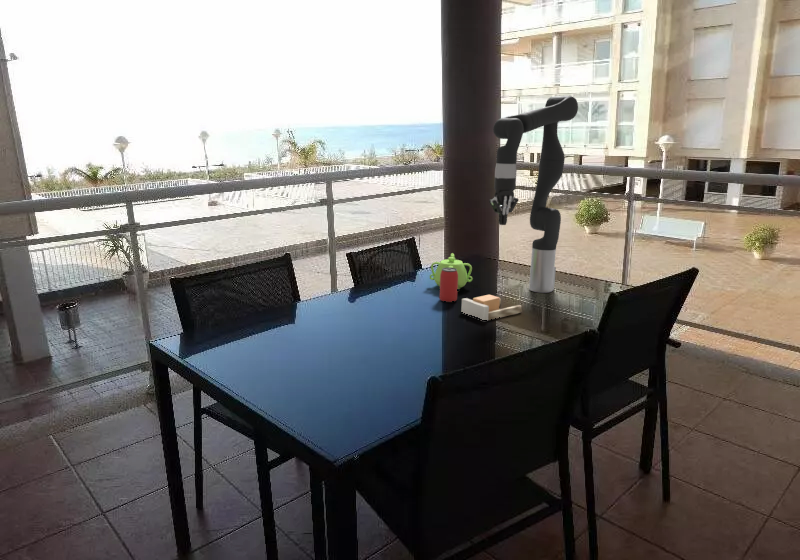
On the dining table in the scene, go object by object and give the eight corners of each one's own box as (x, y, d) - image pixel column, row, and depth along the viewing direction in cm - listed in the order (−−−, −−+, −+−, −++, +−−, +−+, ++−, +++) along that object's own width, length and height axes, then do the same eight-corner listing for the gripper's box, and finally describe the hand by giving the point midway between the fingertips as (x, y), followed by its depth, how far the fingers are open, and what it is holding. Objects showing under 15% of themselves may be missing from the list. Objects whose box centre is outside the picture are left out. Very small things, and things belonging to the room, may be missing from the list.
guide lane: (498, 304, 214) (498, 298, 213) (521, 312, 205) (521, 305, 204) (465, 311, 205) (465, 304, 204) (488, 320, 196) (488, 313, 195)
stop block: (465, 311, 205) (466, 298, 204) (488, 320, 196) (488, 306, 195) (461, 312, 204) (461, 298, 202) (483, 321, 195) (484, 307, 193)
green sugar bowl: (423, 285, 239) (424, 255, 236) (451, 280, 246) (452, 251, 243) (446, 294, 226) (447, 263, 223) (475, 289, 233) (476, 259, 230)
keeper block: (488, 310, 207) (489, 294, 205) (498, 314, 203) (499, 297, 202) (472, 314, 202) (473, 298, 201) (482, 318, 198) (483, 301, 197)
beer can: (457, 298, 221) (458, 267, 218) (456, 303, 215) (458, 271, 212) (439, 297, 222) (440, 266, 219) (439, 302, 215) (440, 270, 212)
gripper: (510, 175, 213) (507, 221, 217) (484, 176, 206) (482, 224, 210) (526, 176, 207) (522, 224, 212) (499, 177, 200) (496, 227, 204)
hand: (502, 224), depth 211 cm, fingers closed
